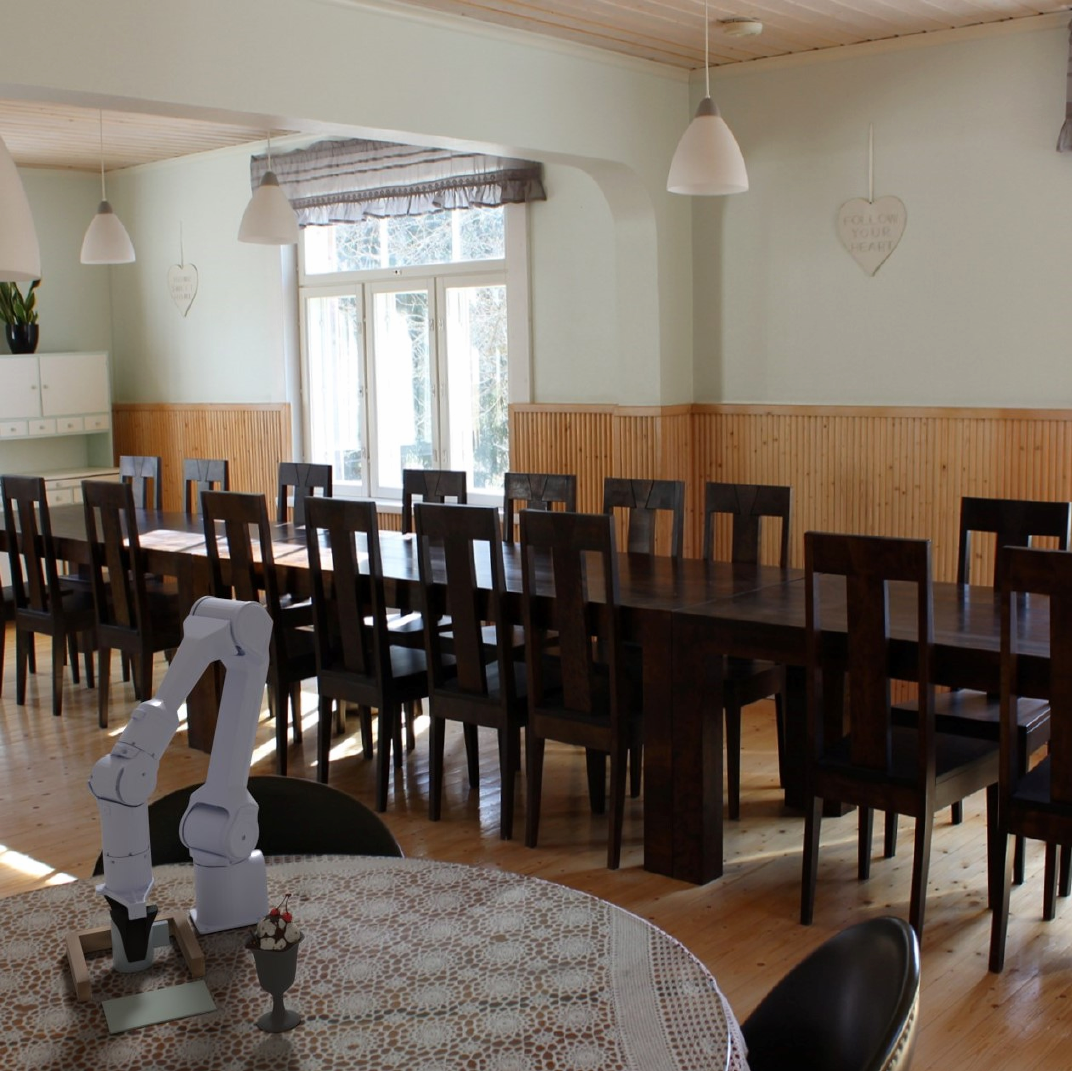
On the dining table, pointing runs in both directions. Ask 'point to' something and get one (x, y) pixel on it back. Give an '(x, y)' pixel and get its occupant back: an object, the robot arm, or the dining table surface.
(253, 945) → the sundae
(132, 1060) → the dining table surface
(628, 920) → the dining table surface
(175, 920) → the wooden frame
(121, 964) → the grey rounded cylinder
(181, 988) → the mat
